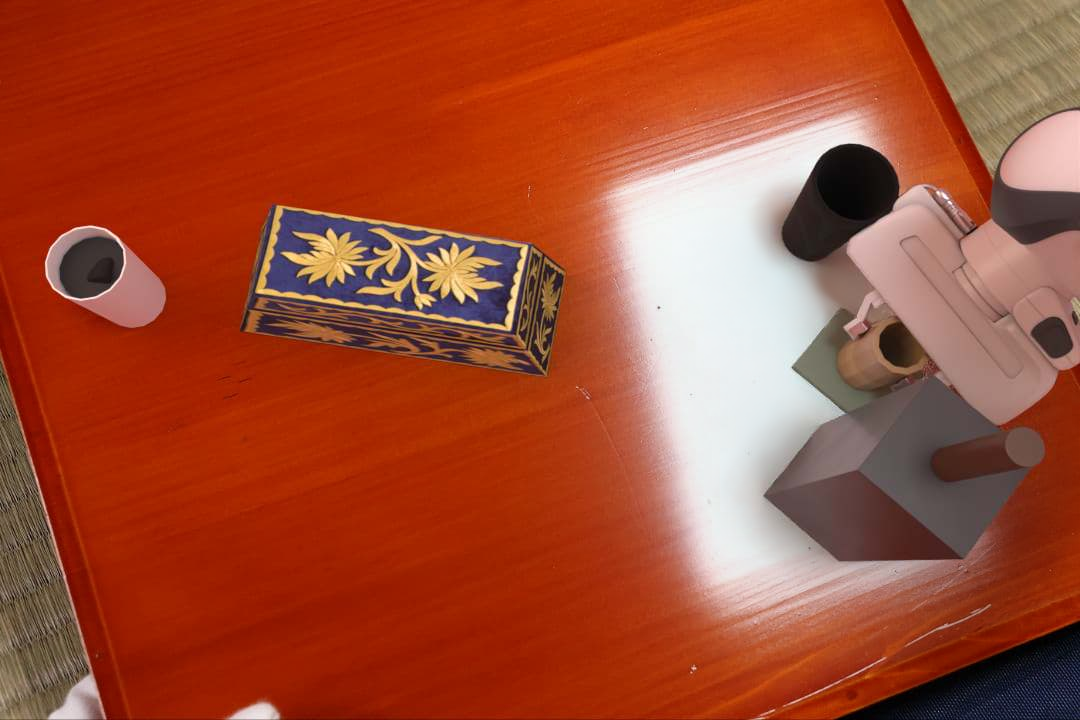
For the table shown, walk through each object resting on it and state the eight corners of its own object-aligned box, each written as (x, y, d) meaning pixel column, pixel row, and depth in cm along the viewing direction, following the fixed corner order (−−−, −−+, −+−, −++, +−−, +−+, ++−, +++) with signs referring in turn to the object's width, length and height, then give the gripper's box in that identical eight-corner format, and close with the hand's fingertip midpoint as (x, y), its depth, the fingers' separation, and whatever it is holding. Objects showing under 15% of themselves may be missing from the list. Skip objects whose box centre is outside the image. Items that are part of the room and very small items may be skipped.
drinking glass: (174, 266, 83) (131, 226, 73) (166, 333, 81) (121, 301, 72) (104, 264, 83) (50, 224, 73) (94, 331, 81) (39, 299, 71)
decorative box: (262, 225, 84) (234, 186, 76) (566, 271, 84) (573, 237, 76) (237, 331, 82) (205, 302, 73) (551, 378, 82) (556, 355, 73)
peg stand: (896, 487, 81) (1130, 440, 51) (839, 561, 79) (1047, 558, 49) (820, 424, 82) (1005, 341, 52) (763, 495, 80) (919, 452, 50)
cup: (760, 210, 87) (799, 155, 75) (829, 191, 88) (879, 133, 76) (787, 280, 85) (832, 234, 74) (858, 259, 86) (913, 211, 74)
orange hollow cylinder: (900, 360, 83) (942, 340, 75) (870, 401, 82) (910, 386, 74) (856, 327, 84) (894, 304, 76) (826, 367, 83) (861, 348, 75)
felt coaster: (922, 375, 84) (925, 373, 83) (874, 436, 82) (876, 435, 81) (840, 308, 85) (842, 306, 84) (791, 367, 83) (793, 366, 83)
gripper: (923, 173, 70) (791, 277, 78) (1095, 378, 66) (938, 464, 74) (937, 170, 75) (811, 267, 83) (1097, 359, 71) (950, 443, 79)
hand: (872, 362), depth 78 cm, fingers closed on orange hollow cylinder, 5 cm apart
